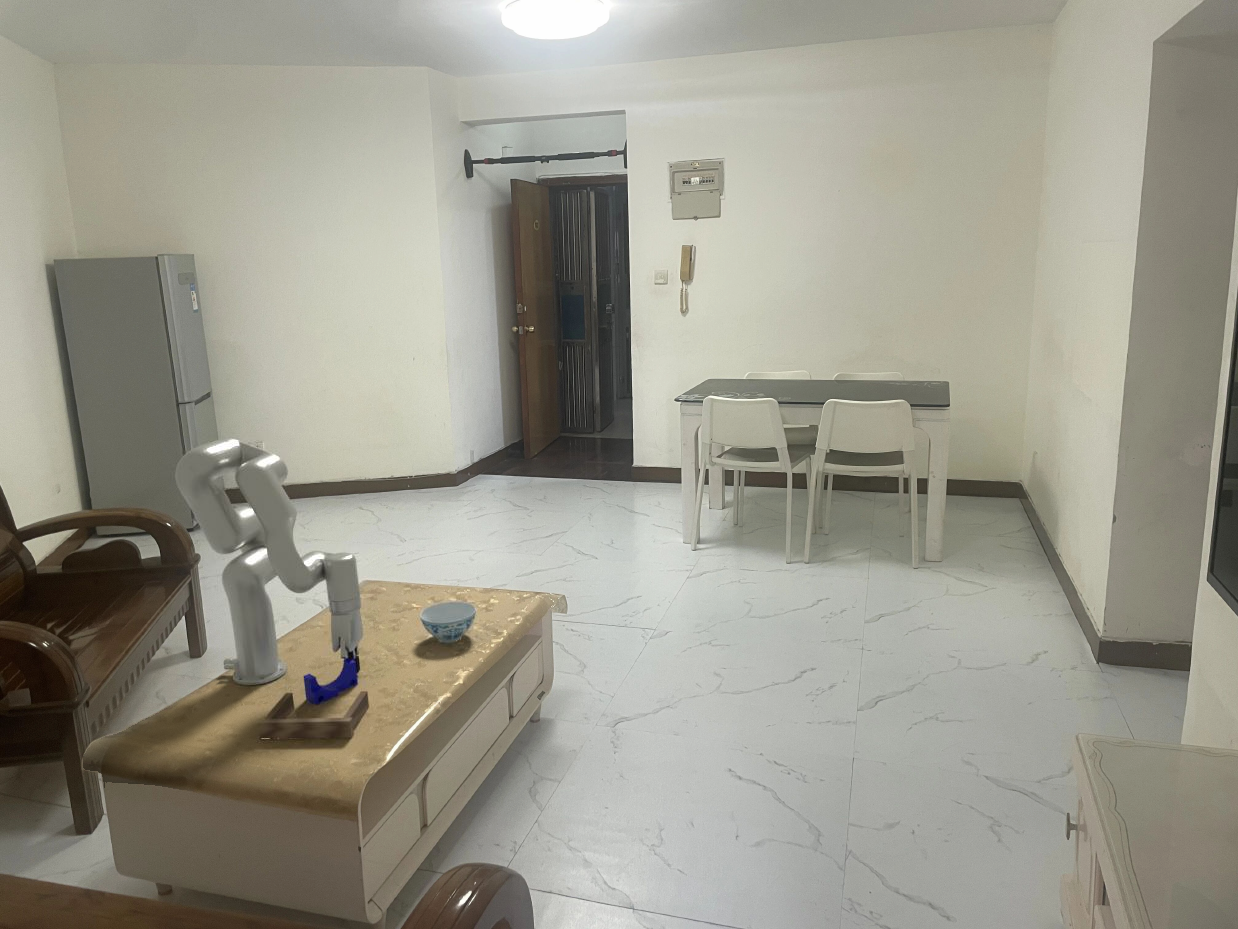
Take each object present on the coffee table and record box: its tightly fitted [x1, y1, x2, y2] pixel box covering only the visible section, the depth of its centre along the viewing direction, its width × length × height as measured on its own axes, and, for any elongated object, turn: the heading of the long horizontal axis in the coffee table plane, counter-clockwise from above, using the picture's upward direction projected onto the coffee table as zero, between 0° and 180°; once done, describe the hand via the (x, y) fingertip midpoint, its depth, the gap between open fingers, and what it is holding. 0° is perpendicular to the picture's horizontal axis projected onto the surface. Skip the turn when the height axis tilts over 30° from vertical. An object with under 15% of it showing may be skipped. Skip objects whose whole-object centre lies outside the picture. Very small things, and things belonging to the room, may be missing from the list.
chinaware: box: [419, 600, 477, 644], centre depth 232 cm, size 15×15×8 cm
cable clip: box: [303, 658, 359, 706], centre depth 203 cm, size 12×4×6 cm, turn 139°
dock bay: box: [257, 690, 370, 740], centre depth 189 cm, size 20×14×4 cm
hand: (353, 672), depth 212 cm, fingers closed
